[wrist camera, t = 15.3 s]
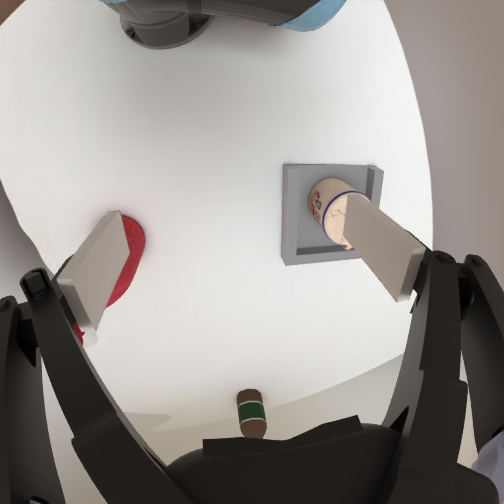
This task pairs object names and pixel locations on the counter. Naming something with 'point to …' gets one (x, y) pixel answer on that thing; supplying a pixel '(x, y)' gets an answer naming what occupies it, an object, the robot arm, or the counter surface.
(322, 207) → the teacup with lid
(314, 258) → the shallow gray tray
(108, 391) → the robot arm
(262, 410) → the beer bottle
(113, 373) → the counter surface
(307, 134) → the counter surface
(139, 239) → the wine bottle
